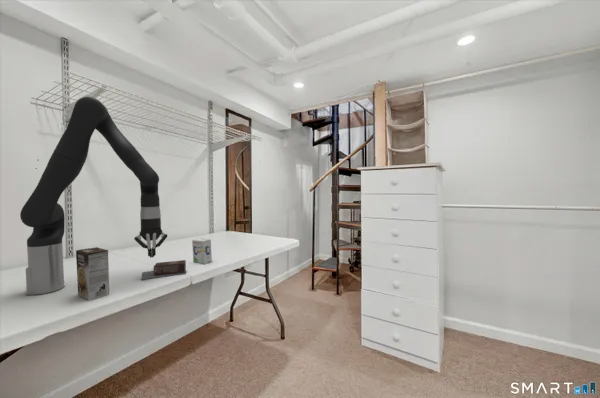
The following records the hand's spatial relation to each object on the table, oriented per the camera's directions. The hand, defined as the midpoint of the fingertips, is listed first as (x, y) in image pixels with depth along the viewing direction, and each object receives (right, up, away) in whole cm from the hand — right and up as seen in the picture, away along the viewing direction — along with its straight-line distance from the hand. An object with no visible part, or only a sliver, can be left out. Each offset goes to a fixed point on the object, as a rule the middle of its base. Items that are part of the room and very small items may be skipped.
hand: (152, 257), depth 109 cm
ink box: (+14, -7, +20) cm, 26 cm away
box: (+1, -6, 0) cm, 6 cm away
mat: (+4, -8, +2) cm, 9 cm away
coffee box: (-9, -9, -20) cm, 24 cm away
